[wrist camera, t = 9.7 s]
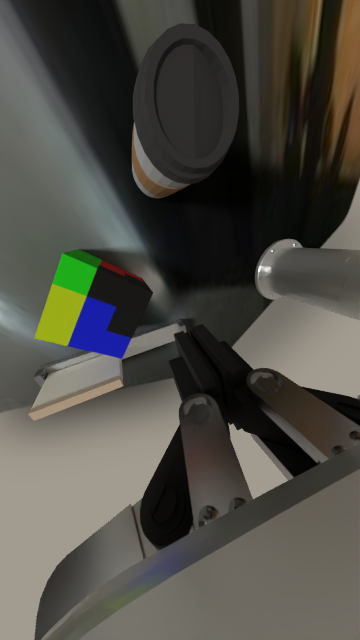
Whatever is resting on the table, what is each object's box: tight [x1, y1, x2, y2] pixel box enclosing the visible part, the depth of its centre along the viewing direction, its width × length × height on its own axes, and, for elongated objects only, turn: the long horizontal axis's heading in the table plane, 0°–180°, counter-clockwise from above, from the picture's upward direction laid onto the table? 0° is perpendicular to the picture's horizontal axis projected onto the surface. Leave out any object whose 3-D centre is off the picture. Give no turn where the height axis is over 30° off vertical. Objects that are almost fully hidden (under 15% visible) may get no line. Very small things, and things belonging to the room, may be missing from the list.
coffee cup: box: [132, 23, 239, 198], centre depth 19 cm, size 8×8×15 cm
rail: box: [33, 319, 186, 388], centre depth 33 cm, size 26×4×3 cm, turn 102°
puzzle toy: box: [35, 249, 153, 359], centre depth 26 cm, size 10×10×10 cm
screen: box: [29, 355, 123, 421], centre depth 29 cm, size 12×1×8 cm, turn 102°
